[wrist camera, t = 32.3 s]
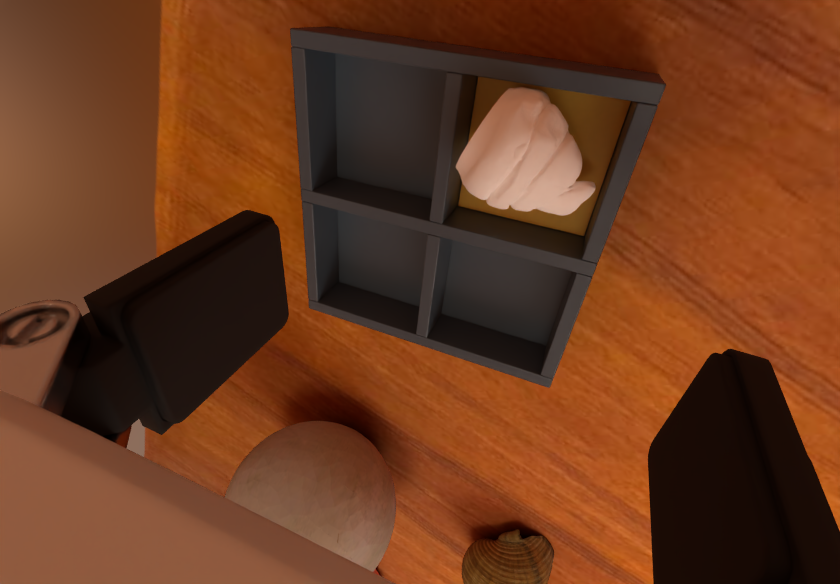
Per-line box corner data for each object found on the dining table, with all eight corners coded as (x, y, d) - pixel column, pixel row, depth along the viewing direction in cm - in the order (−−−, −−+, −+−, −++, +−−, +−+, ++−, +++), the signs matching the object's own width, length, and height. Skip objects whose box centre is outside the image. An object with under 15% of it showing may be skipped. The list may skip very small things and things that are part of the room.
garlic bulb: (553, 224, 24) (539, 268, 20) (467, 161, 24) (435, 192, 20) (627, 142, 21) (629, 174, 17) (527, 69, 21) (504, 82, 17)
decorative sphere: (448, 460, 40) (379, 645, 28) (377, 506, 49) (302, 660, 38) (321, 362, 40) (196, 509, 28) (273, 427, 49) (164, 558, 37)
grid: (328, 26, 24) (289, 27, 21) (659, 74, 20) (666, 83, 17) (334, 283, 34) (308, 308, 31) (556, 352, 30) (549, 388, 27)
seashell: (527, 490, 45) (468, 516, 40) (580, 553, 40) (519, 591, 35) (498, 547, 49) (441, 577, 44) (542, 611, 44) (483, 651, 39)
